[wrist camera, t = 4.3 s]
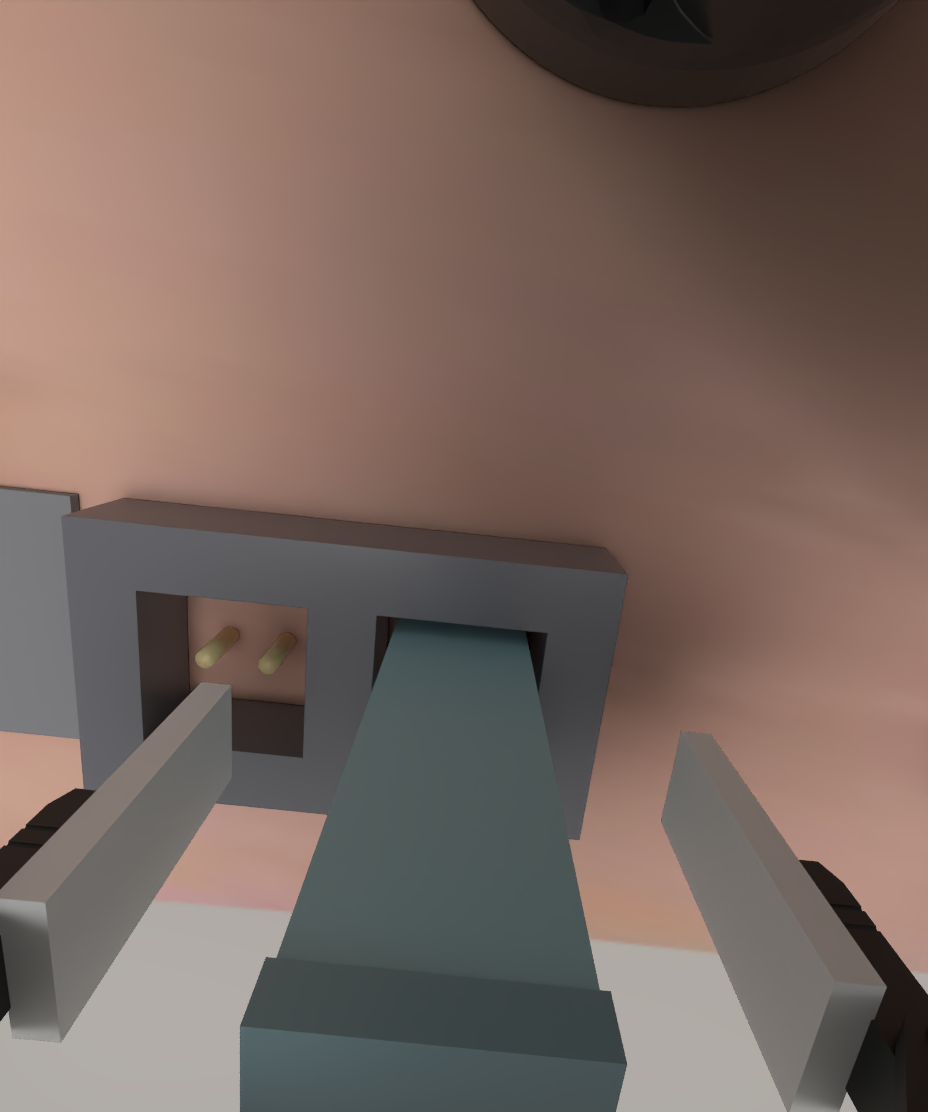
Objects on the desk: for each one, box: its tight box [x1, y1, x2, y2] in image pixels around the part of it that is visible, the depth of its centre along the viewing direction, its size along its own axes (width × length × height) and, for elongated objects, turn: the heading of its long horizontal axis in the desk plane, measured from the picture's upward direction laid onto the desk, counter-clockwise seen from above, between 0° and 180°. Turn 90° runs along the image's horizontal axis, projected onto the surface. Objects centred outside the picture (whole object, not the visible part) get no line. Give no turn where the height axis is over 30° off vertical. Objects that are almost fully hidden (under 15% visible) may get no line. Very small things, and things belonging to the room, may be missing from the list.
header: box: [61, 498, 628, 840], centre depth 19 cm, size 16×9×3 cm, turn 84°
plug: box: [240, 618, 627, 1112], centre depth 14 cm, size 4×4×14 cm
